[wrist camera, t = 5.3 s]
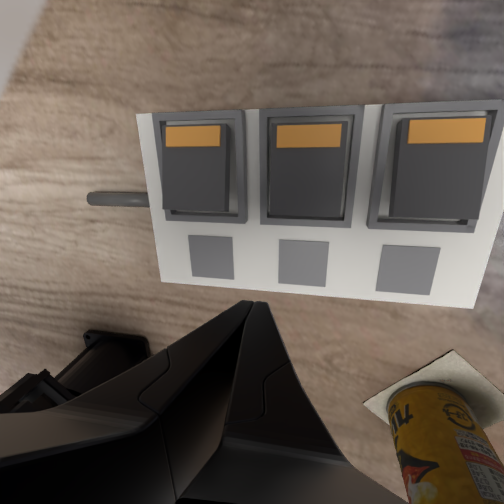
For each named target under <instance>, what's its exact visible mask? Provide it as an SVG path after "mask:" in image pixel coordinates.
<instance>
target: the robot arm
mask: <svg viewBox="0 0 504 504" xmlns="http://www.w3.org/2000/svg"><path fill="white" fill-rule="evenodd" d="M83 337H84V341H85V344H86V347H87V348H86V349H85V350H84V351H83V352H82V353H81V354H80V355H78V356H77V357H76V358H75V359H74V360H73V361H72V362H71V363H70V364H69V365H68V366H67V367H65V368H64V369H63V370H62V371H61V372H60V373H59V374H58V375H57V376H56V377H55V378H54V377H52V376H51V375H50V372H49V371H47V370H46V369H44V370H43V371H42V372H40V373H39V374H38V375H37V374H31V373H27V374H26V375H25V376H24V377H23V378H21V379H20V380H19V381H18V382H16V383H15V384H14V385H13V386H12V387H10V388H9V389H8V390H6V391H5V392H4V393H2V394H1V395H0V504H409V503H408V502H406V501H405V500H403V499H402V498H400V497H399V496H397V495H395V494H394V493H392V492H391V491H389V490H388V489H386V488H385V487H383V486H382V485H380V484H379V483H377V482H376V481H374V480H372V479H371V478H369V477H368V476H366V475H365V474H363V473H362V472H360V471H359V470H357V469H356V468H355V467H354V466H353V465H352V464H351V463H350V462H349V461H348V460H347V459H346V457H345V456H344V455H343V453H342V452H341V450H340V449H339V447H338V446H337V444H336V443H335V441H334V439H333V438H332V436H331V434H330V433H329V431H328V429H327V428H326V426H325V424H324V423H323V421H322V420H321V418H320V416H319V415H318V413H317V411H316V410H315V408H314V406H313V405H312V403H311V401H310V400H309V398H308V396H307V394H306V392H305V391H304V389H303V387H302V385H301V383H300V381H299V378H298V376H297V374H296V372H295V369H294V367H293V364H292V363H291V360H290V357H289V355H288V352H287V350H286V347H285V345H284V342H283V340H282V337H281V335H280V332H279V329H278V327H277V324H276V322H275V319H274V317H273V314H272V312H271V309H270V307H269V304H268V303H267V302H261V301H256V302H255V303H254V301H247V300H242V301H240V302H238V303H237V304H235V305H234V306H232V307H230V308H229V309H227V310H226V311H224V312H222V313H221V314H219V315H218V316H216V317H214V318H213V319H211V320H210V321H208V322H206V323H205V324H203V325H202V326H200V327H198V328H197V329H195V330H194V331H192V332H190V333H189V334H187V335H186V336H184V337H182V338H181V339H179V340H178V341H176V342H174V343H173V344H171V345H170V346H168V347H167V349H166V348H165V349H163V350H162V351H160V352H158V353H157V354H155V355H153V356H152V357H150V353H149V347H148V342H147V340H146V339H145V338H143V337H138V336H130V335H122V334H115V333H107V332H99V331H91V330H88V331H87V332H85V333H84V335H83Z"/></svg>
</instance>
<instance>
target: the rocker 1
mask: <svg viewBox="0 0 504 504" xmlns="http://www.w3.org/2000/svg"><path fill="white" fill-rule="evenodd" d="M230 151H231V128H230V127H229V126H228V125H227V124H226V123H219V124H186V125H162V209H164V210H189V211H220V212H229V191H230Z"/></svg>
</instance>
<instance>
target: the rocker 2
mask: <svg viewBox="0 0 504 504" xmlns="http://www.w3.org/2000/svg"><path fill="white" fill-rule="evenodd" d="M491 121H492V115H485V116H452V117H419V118H402V119H401V120H400V121H399V122H398V124H397V129H396V140H395V150H394V161H393V172H392V183H391V194H390V205H389V216H388V217H405V218H436V219H466V220H479V213H480V206H481V198H482V190H483V183H484V175H485V167H486V160H487V152H488V144H489V137H490V129H491Z"/></svg>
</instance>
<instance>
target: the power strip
mask: <svg viewBox="0 0 504 504" xmlns="http://www.w3.org/2000/svg"><path fill="white" fill-rule="evenodd" d="M485 115H492V121H491V129H490V137H489V144H488V152H487V160H486V167H485V175H484V183H483V190H482V198H481V206H480V213H479V220H466V219H436V218H405V217H388V216H389V205H390V194H391V183H392V172H393V161H394V150H395V140H396V129H397V124H398V122H399V121H400V120H401V119H402V118H419V117H452V116H485ZM136 118H137V125H138V131H139V138H140V145H141V151H142V158H143V164H144V171H145V178H146V184H147V191H148V193H110V192H90V193H88V195H87V202H88V203H89V204H90V205H92V206H124V207H150V211H151V217H152V224H153V230H154V237H155V244H156V250H157V257H158V263H159V270H160V277H161V282H168V283H180V284H192V285H203V286H215V287H226V288H238V289H250V290H261V291H273V292H284V293H296V294H308V295H319V296H331V297H343V298H354V299H366V300H377V301H389V302H401V303H412V304H424V305H436V306H447V307H459V308H470V309H473V308H474V304H475V301H476V298H477V295H478V291H479V288H480V285H481V282H482V278H483V275H484V272H485V269H486V266H487V262H488V259H489V256H490V253H491V249H492V246H493V243H494V240H495V236H496V233H497V230H498V227H499V224H500V220H501V217H502V214H503V211H504V99H495V100H469V101H444V102H418V103H393V104H377V105H342V106H317V107H292V108H266V109H249V110H242V109H241V110H215V111H190V112H165V113H147V114H136ZM324 121H348V131H347V143H346V155H345V167H344V178H343V190H342V202H341V214H340V217H316V216H286V215H270V172H271V126H272V123H290V122H324ZM219 123H226V124H227V125H228V126H229V127H230V128H231V151H230V191H229V212H220V211H189V210H164V209H162V125H186V124H219Z"/></svg>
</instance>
